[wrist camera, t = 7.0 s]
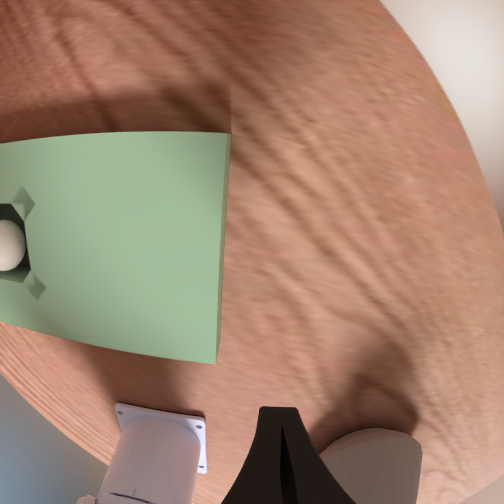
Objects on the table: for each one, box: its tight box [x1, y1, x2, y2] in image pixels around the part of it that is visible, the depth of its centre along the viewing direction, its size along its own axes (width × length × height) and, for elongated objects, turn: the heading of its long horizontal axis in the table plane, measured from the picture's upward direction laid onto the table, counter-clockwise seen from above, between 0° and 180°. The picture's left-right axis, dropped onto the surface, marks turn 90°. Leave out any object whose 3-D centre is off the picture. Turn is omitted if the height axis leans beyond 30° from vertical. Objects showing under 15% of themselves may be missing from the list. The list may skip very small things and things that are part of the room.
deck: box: [0, 131, 232, 364], centre depth 17 cm, size 13×20×2 cm, turn 85°
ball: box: [0, 220, 26, 271], centre depth 17 cm, size 4×4×4 cm
